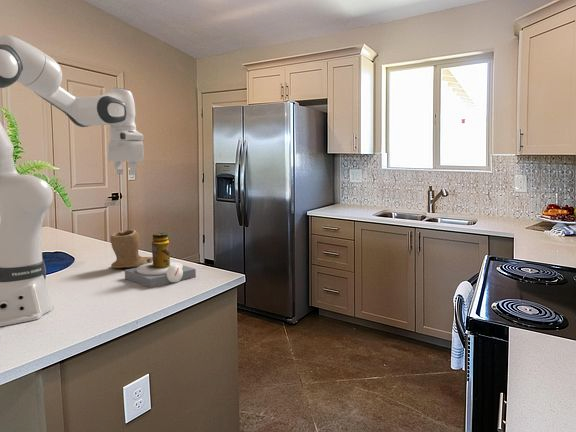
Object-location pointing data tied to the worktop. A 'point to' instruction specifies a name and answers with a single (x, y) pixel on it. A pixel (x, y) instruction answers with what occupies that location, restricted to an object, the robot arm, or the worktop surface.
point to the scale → (160, 274)
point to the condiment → (160, 252)
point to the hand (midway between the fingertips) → (125, 174)
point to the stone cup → (127, 250)
